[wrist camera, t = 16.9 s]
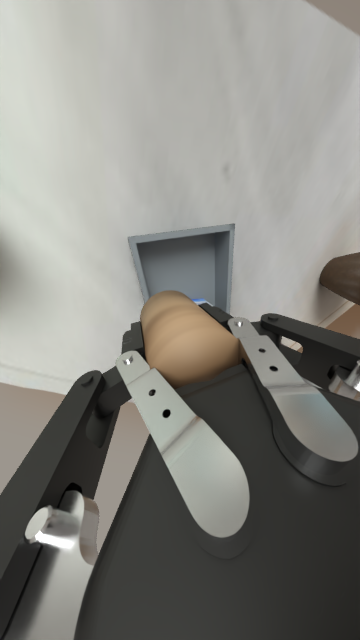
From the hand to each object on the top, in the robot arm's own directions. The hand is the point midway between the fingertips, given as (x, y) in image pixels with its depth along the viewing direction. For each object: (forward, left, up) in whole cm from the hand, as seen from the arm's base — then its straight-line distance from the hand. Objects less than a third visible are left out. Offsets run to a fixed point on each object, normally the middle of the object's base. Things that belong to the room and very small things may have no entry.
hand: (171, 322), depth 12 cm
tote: (-4, -6, -17) cm, 18 cm away
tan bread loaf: (0, 0, -1) cm, 1 cm away
